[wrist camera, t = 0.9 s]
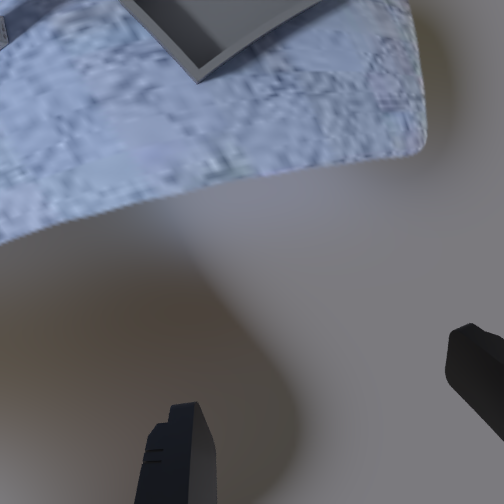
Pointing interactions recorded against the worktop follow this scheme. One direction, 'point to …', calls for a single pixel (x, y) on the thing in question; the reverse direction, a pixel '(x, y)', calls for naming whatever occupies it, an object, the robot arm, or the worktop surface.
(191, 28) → the tray
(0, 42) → the skincare box
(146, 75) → the worktop surface
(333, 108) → the worktop surface
